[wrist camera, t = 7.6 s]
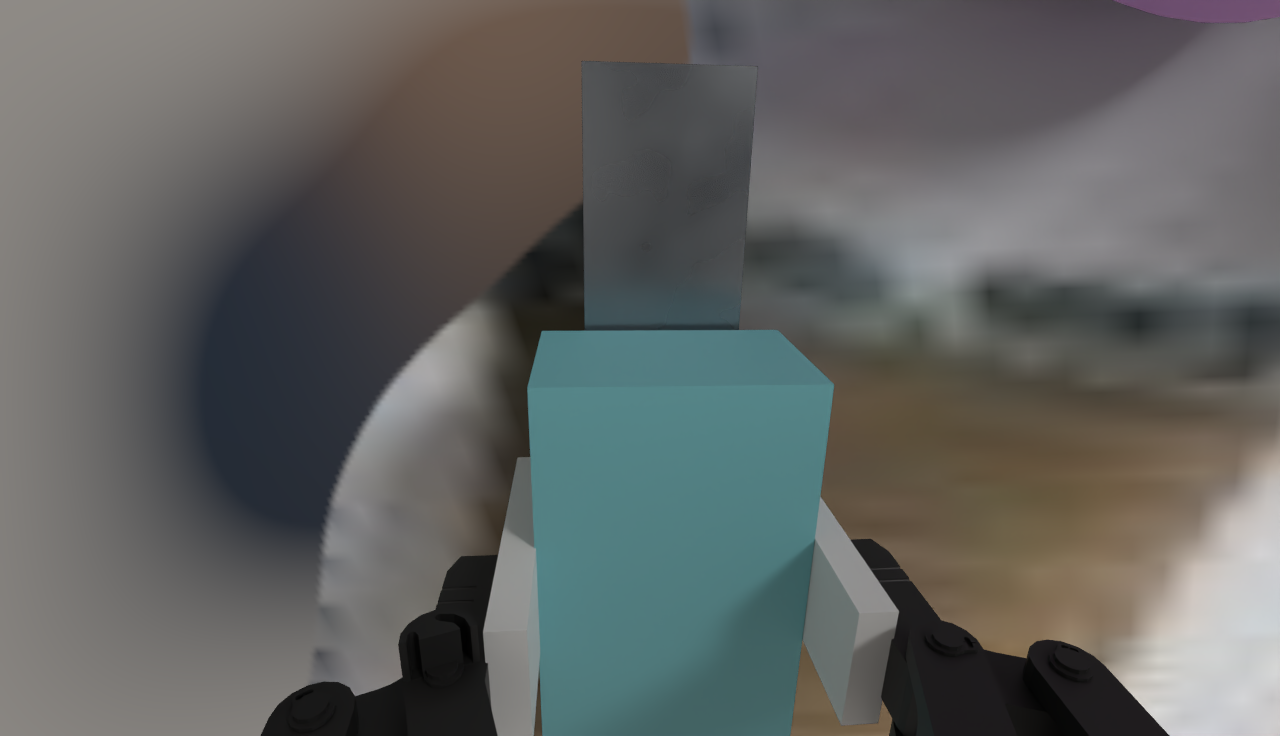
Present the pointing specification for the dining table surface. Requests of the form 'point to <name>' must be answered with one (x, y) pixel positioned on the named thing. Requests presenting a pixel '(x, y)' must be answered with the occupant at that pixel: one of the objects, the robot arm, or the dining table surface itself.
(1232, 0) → the teapot
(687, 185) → the rail
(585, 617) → the clip
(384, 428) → the dining table surface
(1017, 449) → the dining table surface
